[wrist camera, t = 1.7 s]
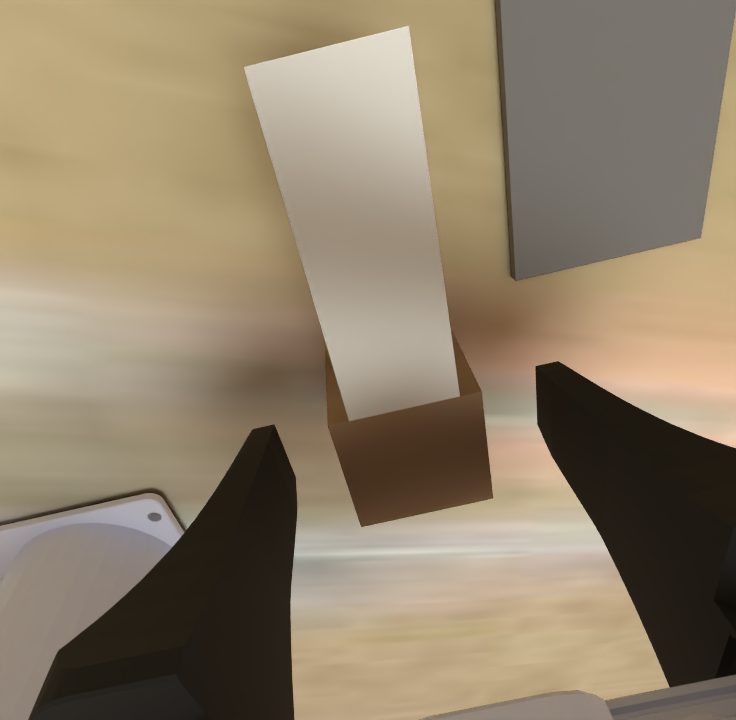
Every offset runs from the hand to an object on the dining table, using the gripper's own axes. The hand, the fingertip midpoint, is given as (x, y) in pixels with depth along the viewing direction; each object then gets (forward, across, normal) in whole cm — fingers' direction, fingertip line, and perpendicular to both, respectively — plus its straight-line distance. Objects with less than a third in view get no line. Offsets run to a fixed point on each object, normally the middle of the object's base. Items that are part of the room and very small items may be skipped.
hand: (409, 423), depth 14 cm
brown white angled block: (+5, 0, -4) cm, 6 cm away
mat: (+4, -7, -6) cm, 10 cm away
